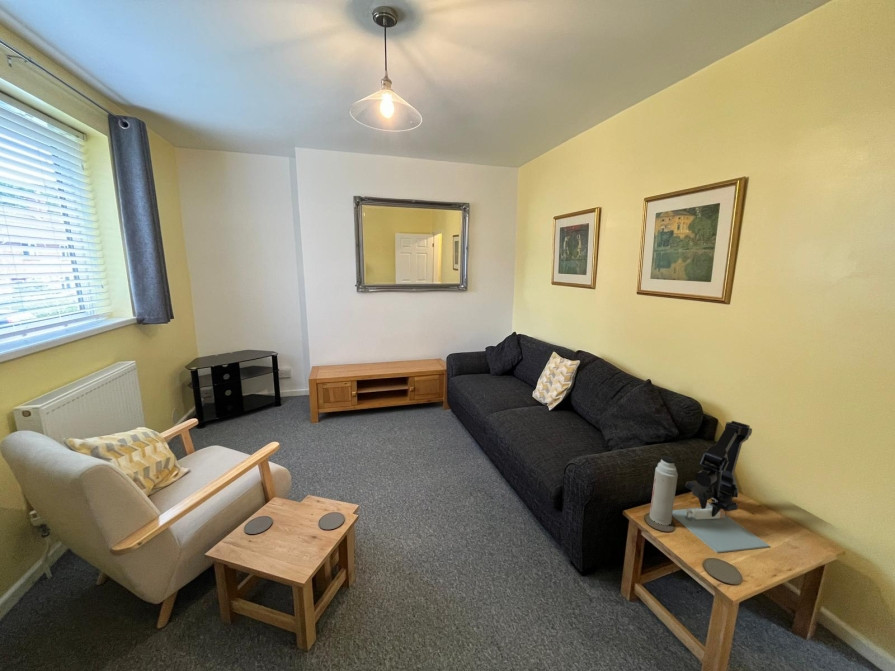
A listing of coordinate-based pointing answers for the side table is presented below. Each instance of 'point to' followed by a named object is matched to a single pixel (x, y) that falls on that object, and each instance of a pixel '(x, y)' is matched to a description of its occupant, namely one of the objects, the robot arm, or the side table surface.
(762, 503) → the side table surface
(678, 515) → the board
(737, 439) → the robot arm
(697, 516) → the white rectangular bar
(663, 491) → the thermos bottle
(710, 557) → the side table surface
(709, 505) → the posts
